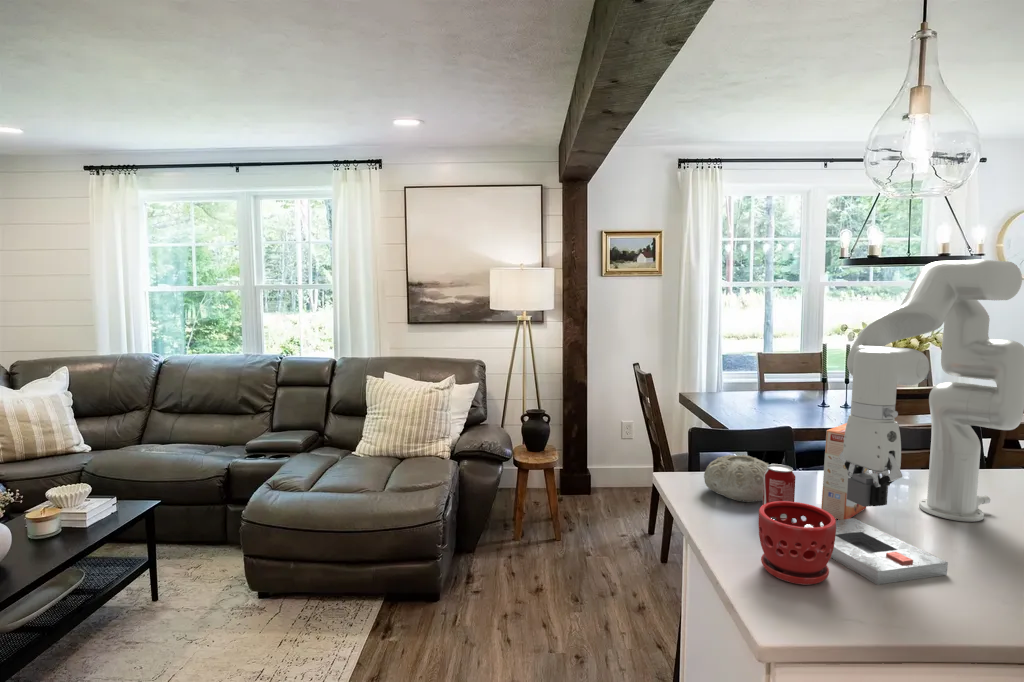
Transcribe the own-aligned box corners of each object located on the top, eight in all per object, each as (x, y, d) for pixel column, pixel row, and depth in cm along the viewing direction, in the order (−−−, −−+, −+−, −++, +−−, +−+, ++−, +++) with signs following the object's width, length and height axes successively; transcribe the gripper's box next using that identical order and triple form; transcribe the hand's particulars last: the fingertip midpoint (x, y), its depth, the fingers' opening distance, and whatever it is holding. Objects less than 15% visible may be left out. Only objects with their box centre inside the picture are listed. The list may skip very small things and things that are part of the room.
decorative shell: (728, 511, 143) (730, 470, 142) (690, 487, 161) (691, 451, 160) (792, 505, 148) (793, 466, 147) (747, 482, 165) (749, 447, 164)
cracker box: (847, 523, 136) (852, 434, 134) (819, 515, 141) (824, 429, 139) (868, 508, 145) (873, 425, 143) (842, 502, 150) (846, 420, 148)
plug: (868, 497, 122) (870, 471, 121) (886, 504, 118) (888, 478, 117) (846, 499, 121) (848, 473, 120) (864, 506, 116) (866, 480, 116)
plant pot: (746, 557, 118) (748, 499, 117) (812, 559, 118) (815, 500, 117) (772, 591, 105) (775, 525, 104) (847, 592, 105) (851, 527, 104)
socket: (853, 529, 133) (854, 515, 132) (946, 574, 111) (948, 559, 111) (792, 535, 129) (793, 522, 129) (877, 584, 108) (878, 568, 107)
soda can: (796, 523, 136) (799, 472, 135) (765, 521, 137) (767, 470, 136) (789, 513, 142) (791, 464, 141) (759, 510, 144) (761, 462, 142)
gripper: (926, 419, 110) (919, 514, 112) (854, 403, 127) (849, 486, 128) (893, 421, 109) (887, 517, 110) (824, 404, 125) (820, 488, 126)
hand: (866, 499), depth 119 cm, fingers closed on plug, 4 cm apart
